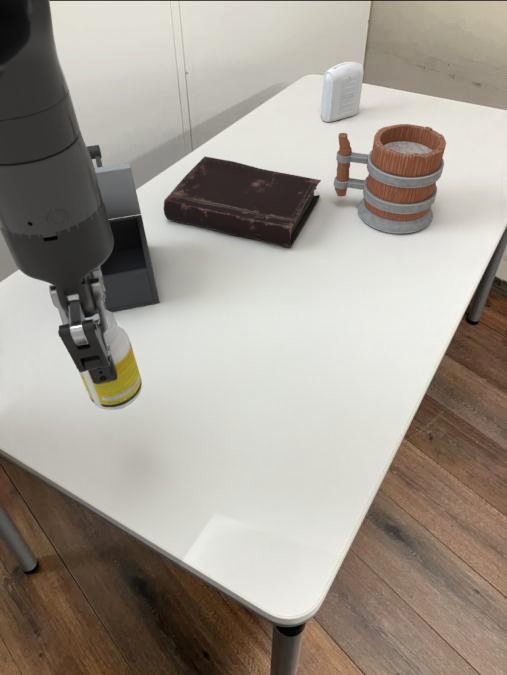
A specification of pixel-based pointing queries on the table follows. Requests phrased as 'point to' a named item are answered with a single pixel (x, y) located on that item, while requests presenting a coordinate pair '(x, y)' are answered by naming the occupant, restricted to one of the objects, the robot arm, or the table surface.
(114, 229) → the dark grey open box
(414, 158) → the mug
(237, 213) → the diary
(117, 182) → the lid
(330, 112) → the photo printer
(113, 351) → the supplement bottle
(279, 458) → the table surface
